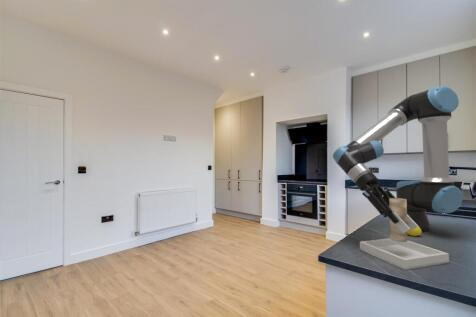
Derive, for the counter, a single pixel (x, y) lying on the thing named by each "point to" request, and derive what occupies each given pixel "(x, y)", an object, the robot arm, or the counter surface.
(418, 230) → the lemon
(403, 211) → the dowel
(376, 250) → the tray
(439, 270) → the counter surface
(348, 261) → the counter surface
